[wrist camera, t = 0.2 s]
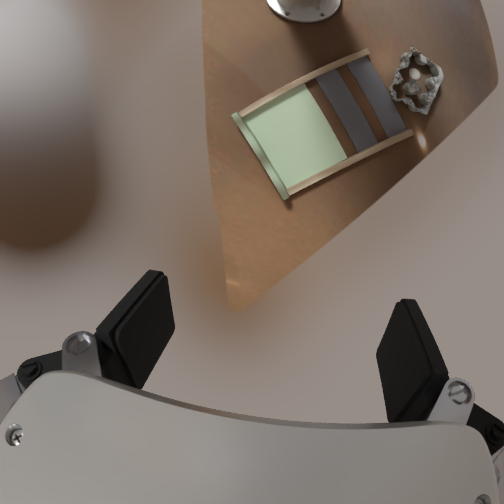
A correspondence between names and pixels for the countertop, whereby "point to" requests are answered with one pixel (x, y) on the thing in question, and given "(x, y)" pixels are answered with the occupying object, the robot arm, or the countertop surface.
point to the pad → (295, 136)
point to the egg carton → (413, 86)
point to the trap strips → (351, 110)
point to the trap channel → (328, 171)
